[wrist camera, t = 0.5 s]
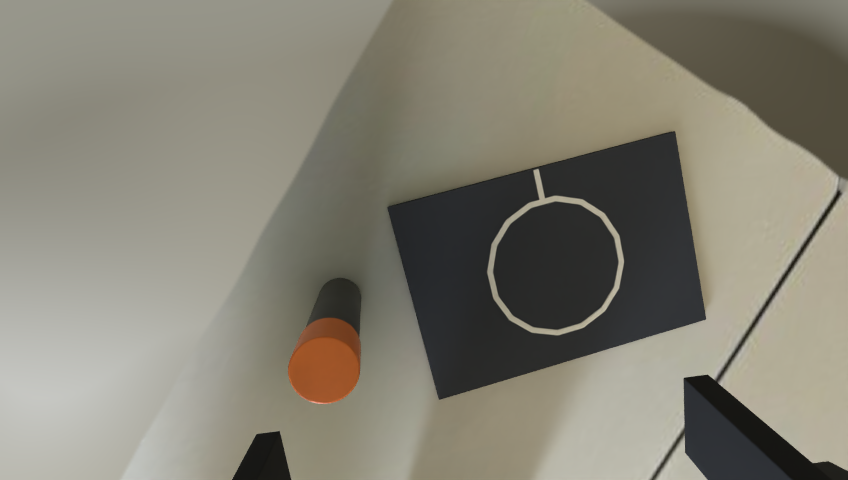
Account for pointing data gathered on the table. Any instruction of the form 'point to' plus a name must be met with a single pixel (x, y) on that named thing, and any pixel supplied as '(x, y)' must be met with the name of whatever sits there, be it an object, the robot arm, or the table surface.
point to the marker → (329, 345)
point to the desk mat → (550, 263)
